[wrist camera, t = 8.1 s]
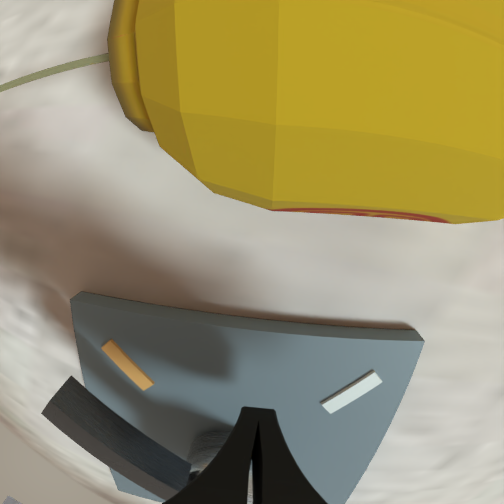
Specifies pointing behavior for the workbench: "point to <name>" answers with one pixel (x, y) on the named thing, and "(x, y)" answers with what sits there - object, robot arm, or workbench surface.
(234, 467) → the robot arm
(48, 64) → the workbench surface
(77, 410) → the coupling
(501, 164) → the lantern
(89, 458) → the workbench surface
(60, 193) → the workbench surface
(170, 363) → the mounting plate
